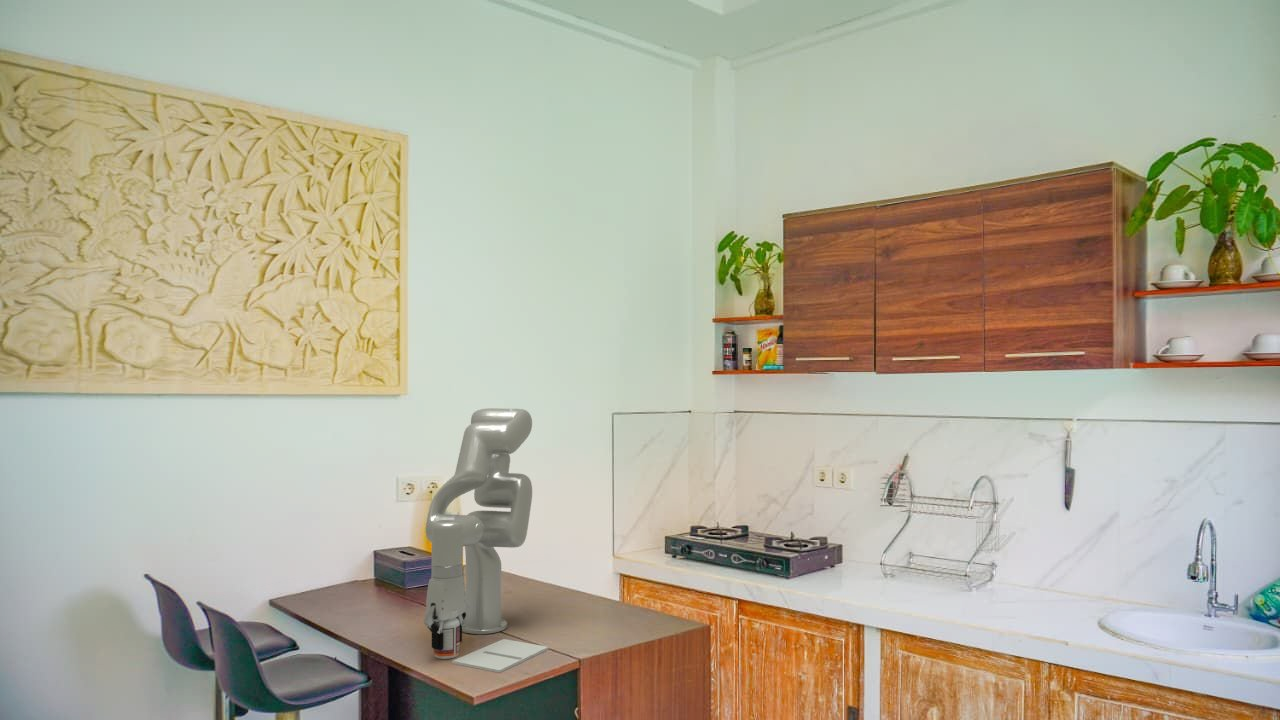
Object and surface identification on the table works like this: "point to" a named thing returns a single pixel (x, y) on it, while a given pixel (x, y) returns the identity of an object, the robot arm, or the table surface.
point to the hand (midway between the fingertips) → (447, 644)
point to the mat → (500, 655)
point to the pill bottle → (450, 638)
